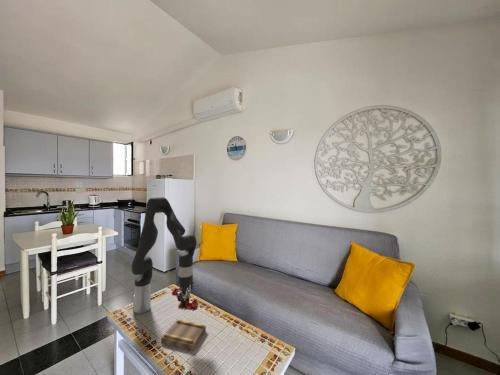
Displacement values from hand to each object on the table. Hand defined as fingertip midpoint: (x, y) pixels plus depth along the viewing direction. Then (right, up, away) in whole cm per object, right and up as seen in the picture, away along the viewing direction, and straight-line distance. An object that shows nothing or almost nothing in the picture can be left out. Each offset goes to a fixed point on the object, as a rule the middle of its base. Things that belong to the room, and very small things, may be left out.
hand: (185, 305), depth 110 cm
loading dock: (-1, -17, 0) cm, 17 cm away
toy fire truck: (0, -2, 0) cm, 2 cm away
